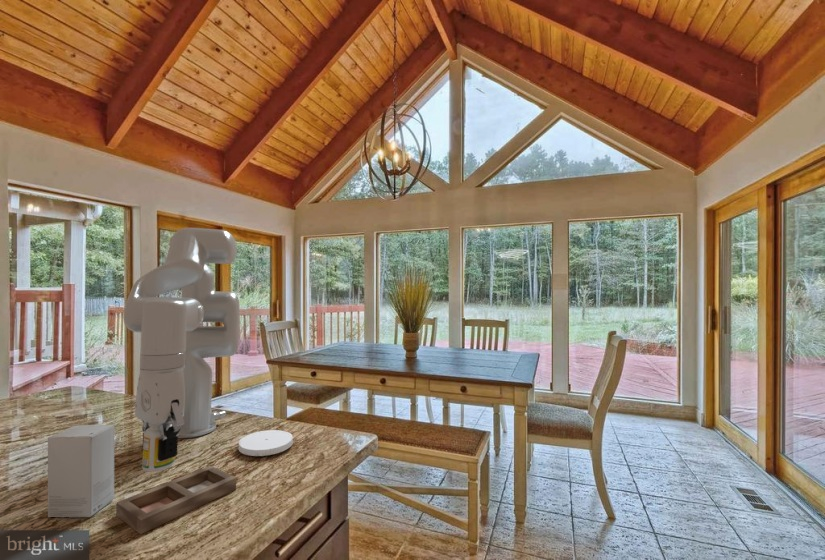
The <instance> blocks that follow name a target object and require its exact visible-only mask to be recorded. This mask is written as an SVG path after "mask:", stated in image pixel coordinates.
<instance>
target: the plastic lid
mask: <svg viewBox="0 0 825 560" xmlns="http://www.w3.org/2000/svg"><path fill="white" fill-rule="evenodd" d="M293 439H294V436H293V434H292V433H290V432H288V431H285V430H278V429H270V430H269V429H268V430H267V429H266V430H261V431H255V432H253V433H249V434H246V435H245V436H243V437H242V438H240V440H239V441H238V451H239V453H241V454H243V455H244V456H250V457H252V456H253V457H264V456H265V457H266V456H271V455H276V454H279V453H283V452H285V451H287V450H288V449H290V448H291V447H292V446H293V443H294V440H293Z"/></svg>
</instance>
